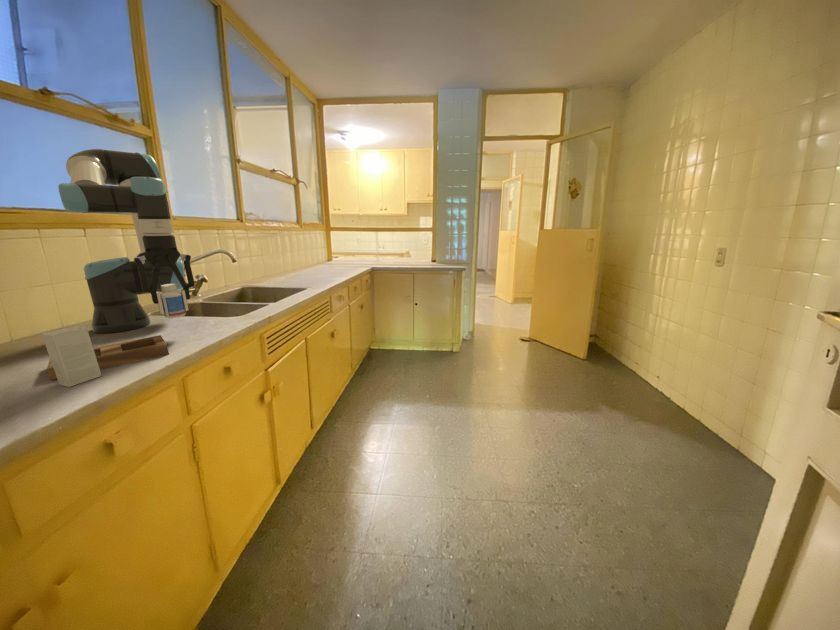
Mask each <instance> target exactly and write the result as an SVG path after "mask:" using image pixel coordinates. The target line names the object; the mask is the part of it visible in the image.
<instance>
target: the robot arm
mask: <svg viewBox="0 0 840 630" xmlns="http://www.w3.org/2000/svg"><path fill="white" fill-rule="evenodd" d="M65 167H66V172H67V174H68V175H69V176H70V182H68V183H66V182H65V183H64V182H63V183H59V184H58V187H57V188H58V193H59V197H60V200H61V203H62V205H63V208H64V210H66V211H67V212H69V213H82V214H90V213H91V214H95V213H97V214H99V213H100V214H101V213H102V214H105V213H106V214H107V213H108V214H131V218H132V221H133V226H134V230H135V235H136V238H137V239H136V240H137V242H138V246H139V249H140V252H139V253H137V254H136V257H134V258H133V261H132V260H131V259H129V257H128V256H126V257H125V256H124V257H114V258H107V259H102V260H97V261H92V262H89V263H86V264H85V265H84V267H83V271H84V277H85V278H84V280H86V282H87V287H88V290H89V294H90V298H91V301H92V302H91V303H92V304H93V305H92V306H93V314H92V320H91V328H92V332H94V333H98V334H110V333H118V332H121V333H122V332H126V331H131V330H135V329H136V330H137V329H139V328H142V327H146V326H148V325H149V324H150V323H151V319H150V315H149V314H148V313H147V312H146V310H145V309H144V307H143V306H142V304H141V303H140V301H139V297H138V296H139V295H148V294H149V295H150V294H151V295H150V296H151V300H152V303H153V304H154V305H156V304H157V305H158V310H159V314H160V315H163V316H164V310H163V305H162V300H161V296H160V294H161V293H162V292H163V291H162V290H161V285H165V284H177V287H178V289H177V291H180V292H181V294H182V298H183V303H184V308H185V312H187V311H190V310H189V306H188V300H190V299H191V296H190V288H193V287H195V285H196V283H195V279H194V274H193V270H192V267H191V259H192V258H191V257H192V256H191V255H190V254H187V253H186V254H184V253H180V251H179V250H178V247H177V242H176V241H177V240H176V237H175V235H174V234H173V233H174V227H173V222H172V217H171V214H170V213H171V212H170V207H169V201H168V197H167V190H166V187H165V183H164V181H163V179H162V176H161V173H160V169H159V167H158V164H157V162H156V160H155V158H154V157H153V156H152V155H150V154H145V153H139V152H129V151H128V152H127V151H119V150H111V149H110V150H109V149H101V148H100V149H99V148H94V149H93V148H91V149H85V150H82V151H79V152H76V153H74V154H72V155H71V156H69V157H68V159H67V161H66V164H65ZM185 274H186V278H187V282H186V278H185Z"/></svg>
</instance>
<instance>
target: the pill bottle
mask: <svg viewBox="0 0 840 630" xmlns="http://www.w3.org/2000/svg"><path fill="white" fill-rule="evenodd" d="M177 289H178V287H177V284H165V285H161V290H162V291H163V292H160V296H161V300H162V305H163V310H164V314H163V316H164V317H165V318H167V319H173V318H174V319H175V318H180V317H183V316H185V315H186V312H187V311H185V308H184V303H183V298H182V294H181V292H180V290H177Z"/></svg>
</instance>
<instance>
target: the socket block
mask: <svg viewBox="0 0 840 630" xmlns="http://www.w3.org/2000/svg"><path fill="white" fill-rule="evenodd" d="M93 349H94V352H95V355H96V359H97V362H98V365H99V369H100V370H103V369H106V368H112V367H116V366H120V365H126V364H130V363H135V362H139V361H143V360H148V359H152V358H153V359H154V358H158V357H162V356H166V355H170V351H169V347H168V344H167V342H166V341H165V340H164V339H163V337H162V335H155V336H150V337H149V336H148V337H145V338H144V337H142V338H139V339H135V340H134V339H133V340H129V341H123V342H118V343H117V342H116V343H112V344H106V345H101V346H96V347H93ZM46 370H47V373H48V376H49V379H50V381H52V380H53V381H54V380H56V379H57V376H56V374H55V371H54V368H53V365H52V362H51V359H50V358H49V360H48V365H47V368H46ZM57 380H58V379H57Z"/></svg>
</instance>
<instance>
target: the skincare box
mask: <svg viewBox="0 0 840 630" xmlns="http://www.w3.org/2000/svg"><path fill="white" fill-rule="evenodd" d="M41 336H42V339H43V342H44V344H45V348H46V350H47V353H48V356H49V360H50V359H51V362H52V365H53V368H54V371H55V374H56V376H57V383H58V384H59V385H60V386H63V387H67V388H71V387H74V386H77V385H78V384H82V383H85V382H88V381H91V380H94V379H97V378H99V377H102V373H101V369H99V365H98V362H97V359H96V355H95V352H94V349H93V348H94V345H93V343H92V340H91V336H90V334H89V329H88V327H85V326H79V325H75V326H70V327H66V328H62V329H61V328H60V329H56V330H52V331H48V332H42V333H41Z"/></svg>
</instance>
